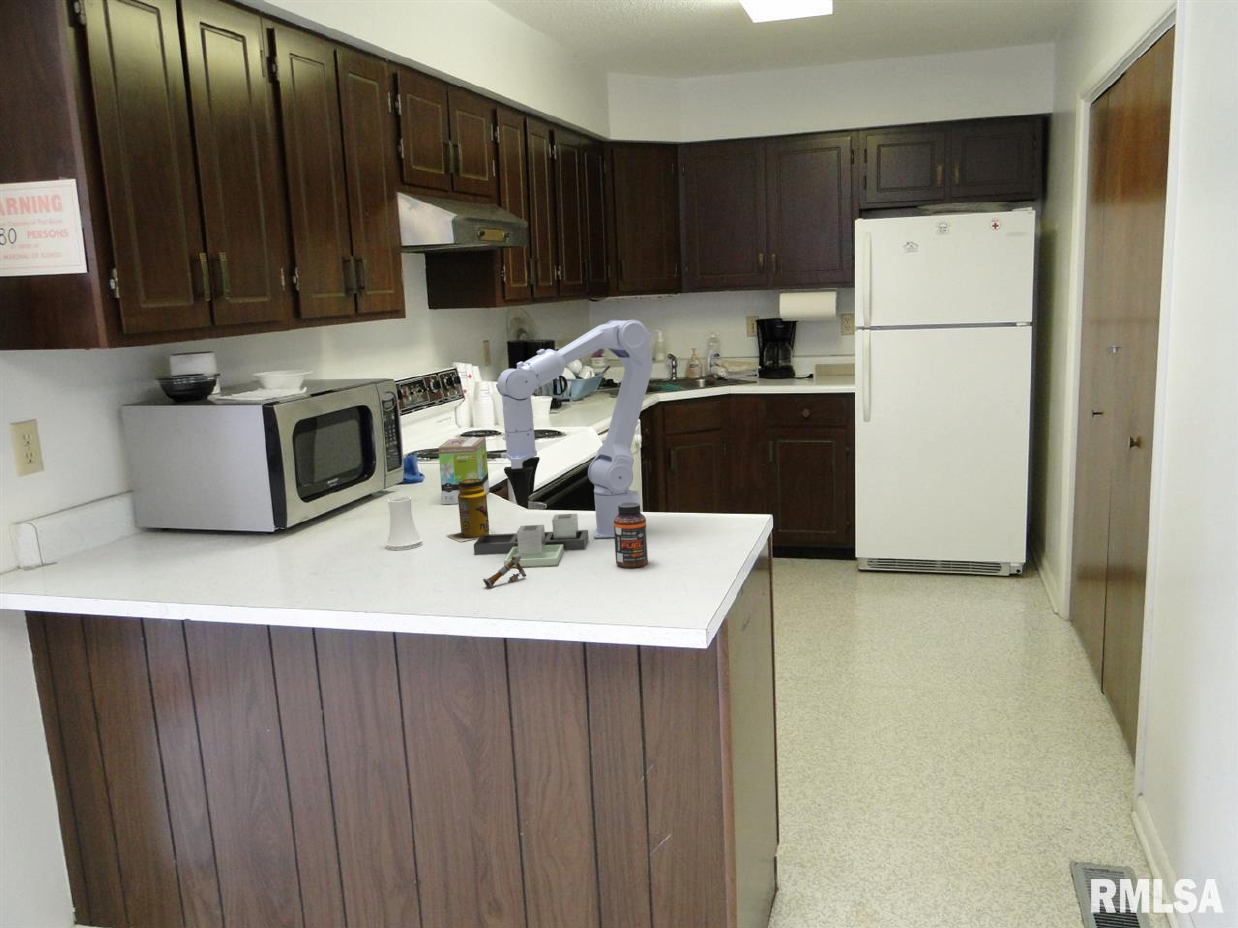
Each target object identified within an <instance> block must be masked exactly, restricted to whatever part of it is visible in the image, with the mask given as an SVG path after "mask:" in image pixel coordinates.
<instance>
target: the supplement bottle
mask: <svg viewBox="0 0 1238 928" xmlns="http://www.w3.org/2000/svg"><path fill="white" fill-rule="evenodd" d="M618 512H619V514H618V516H616V517H615V519H614V535H615V537H614V552H615V554H614V555H615V563H616V565H617V566H618V567H621V568H624V569H627V568H628V569H635V568H641V567H644V566H645V565H647V563H648V562H649V555H648V554H649V553H648V533H647V520H646V519H647V518H646V517H645V515H644V514H642V513H641V503H640V504H639V503H635V502H627V503H621V504H619V505H618Z"/></svg>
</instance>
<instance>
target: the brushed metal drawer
mask: <svg viewBox="0 0 1238 928" xmlns="http://www.w3.org/2000/svg"><path fill="white" fill-rule="evenodd" d="M551 522H552V532H553V537H554V540H563V539H579V532H578V530H579V522H578V513H563V514H562V513H560V514H554V516H553V517H552V519H551Z"/></svg>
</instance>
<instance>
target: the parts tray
mask: <svg viewBox="0 0 1238 928" xmlns="http://www.w3.org/2000/svg"><path fill="white" fill-rule="evenodd" d="M564 552H565V551H564V546H563V545H546V557H545V558H536V559H520V560H521V561H519V564H520V565H521V567H522V569H523V568H525V569H526V568H541V567H542V568H543V567H546V568H547V567H559V564H560V562H561V559H562V557H563V555H564ZM513 556H514V557H515V556H519V551H518V547H512V549H511V550H510V552H509V553H507V555H506V557H505V558H504V559H503V567H504V566H505V565H507V564H508V563H509V562H511V560H512V557H513ZM513 567H516V568H517V566H516V565H514V566H513ZM516 568H515V569H516Z"/></svg>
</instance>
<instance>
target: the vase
mask: <svg viewBox="0 0 1238 928" xmlns="http://www.w3.org/2000/svg"><path fill="white" fill-rule="evenodd" d="M387 503H388V508H389V515H390V516H389V517H390V523H389V524H390V525H389V526H390V527H389V533H388V536H387V541H386V542H385V543H384V544H385V545H386V546H385V549H386V550H390V551H404V550H405V551H406V550H411V549H416V548H419V547H420V546H422V545H423V538H421V536H420V535H419V534H418V531H417V529H416V526H415V523H414V519H413V513H412V497H410V496H397V497H393V498H389V499H387Z"/></svg>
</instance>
